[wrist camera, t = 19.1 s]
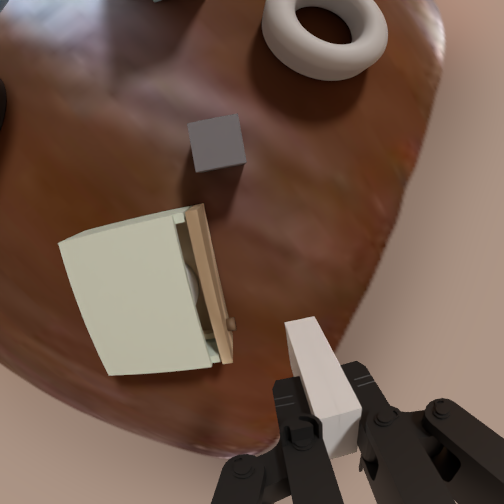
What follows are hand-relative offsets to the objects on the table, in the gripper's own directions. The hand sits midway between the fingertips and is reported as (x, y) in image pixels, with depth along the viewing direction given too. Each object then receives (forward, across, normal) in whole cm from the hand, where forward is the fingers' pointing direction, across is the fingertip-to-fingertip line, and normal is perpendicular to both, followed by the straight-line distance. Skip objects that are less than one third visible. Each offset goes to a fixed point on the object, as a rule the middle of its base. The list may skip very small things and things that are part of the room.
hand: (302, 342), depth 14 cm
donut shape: (+23, +12, +26) cm, 37 cm away
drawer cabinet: (+22, -15, -3) cm, 27 cm away
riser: (+22, -3, +12) cm, 26 cm away
